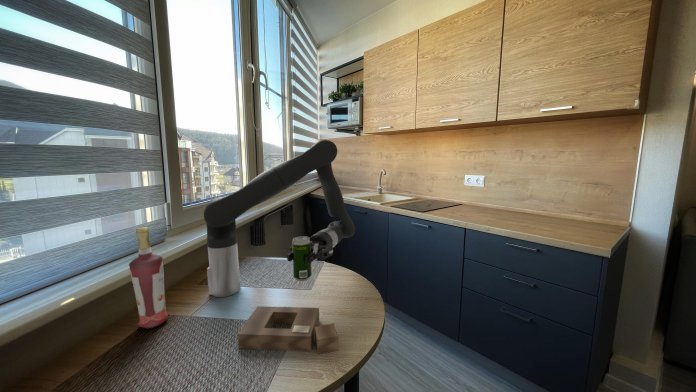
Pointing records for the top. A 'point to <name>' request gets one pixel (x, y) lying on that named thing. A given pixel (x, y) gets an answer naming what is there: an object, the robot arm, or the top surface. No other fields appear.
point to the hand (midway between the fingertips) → (297, 259)
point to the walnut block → (326, 338)
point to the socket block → (265, 337)
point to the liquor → (148, 283)
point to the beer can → (301, 258)
